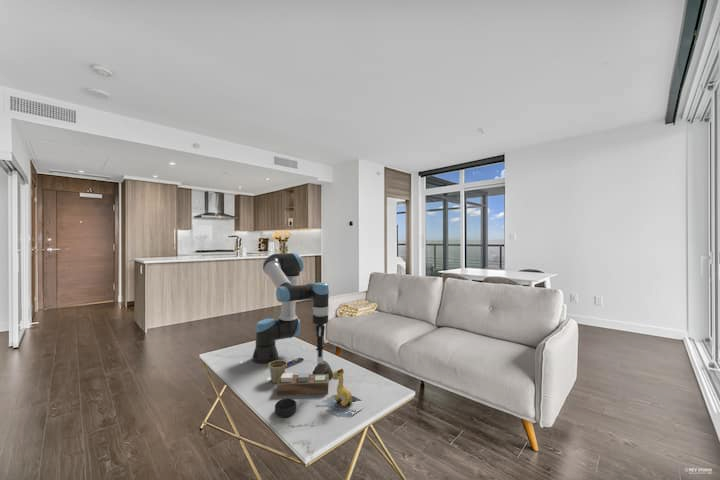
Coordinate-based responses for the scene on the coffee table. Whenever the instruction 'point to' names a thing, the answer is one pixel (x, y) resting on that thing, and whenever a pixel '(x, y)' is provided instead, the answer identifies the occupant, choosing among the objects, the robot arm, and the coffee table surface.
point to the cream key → (287, 377)
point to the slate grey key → (303, 377)
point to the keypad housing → (303, 386)
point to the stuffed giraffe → (340, 397)
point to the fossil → (323, 369)
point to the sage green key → (320, 378)
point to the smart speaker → (285, 407)
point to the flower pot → (277, 369)
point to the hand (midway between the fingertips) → (320, 362)
